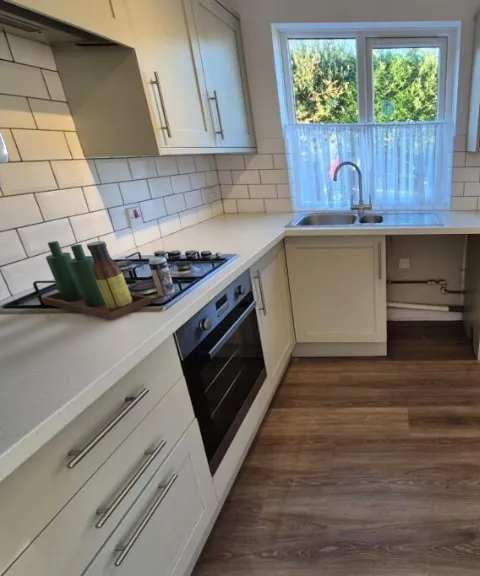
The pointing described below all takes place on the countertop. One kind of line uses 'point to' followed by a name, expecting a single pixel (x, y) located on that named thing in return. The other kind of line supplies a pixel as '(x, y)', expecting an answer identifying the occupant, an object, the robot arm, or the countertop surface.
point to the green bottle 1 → (63, 273)
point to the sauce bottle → (109, 277)
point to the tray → (100, 310)
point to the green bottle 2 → (85, 277)
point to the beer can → (161, 276)
